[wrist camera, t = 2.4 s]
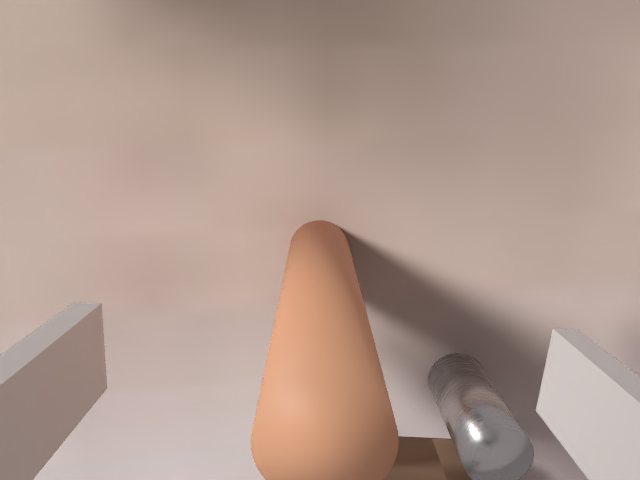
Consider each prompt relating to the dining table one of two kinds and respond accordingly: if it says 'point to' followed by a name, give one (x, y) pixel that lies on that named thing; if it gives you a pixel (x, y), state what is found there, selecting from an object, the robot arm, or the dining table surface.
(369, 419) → the long pin
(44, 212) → the dining table surface
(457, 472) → the socket block
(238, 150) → the dining table surface
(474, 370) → the short pin
